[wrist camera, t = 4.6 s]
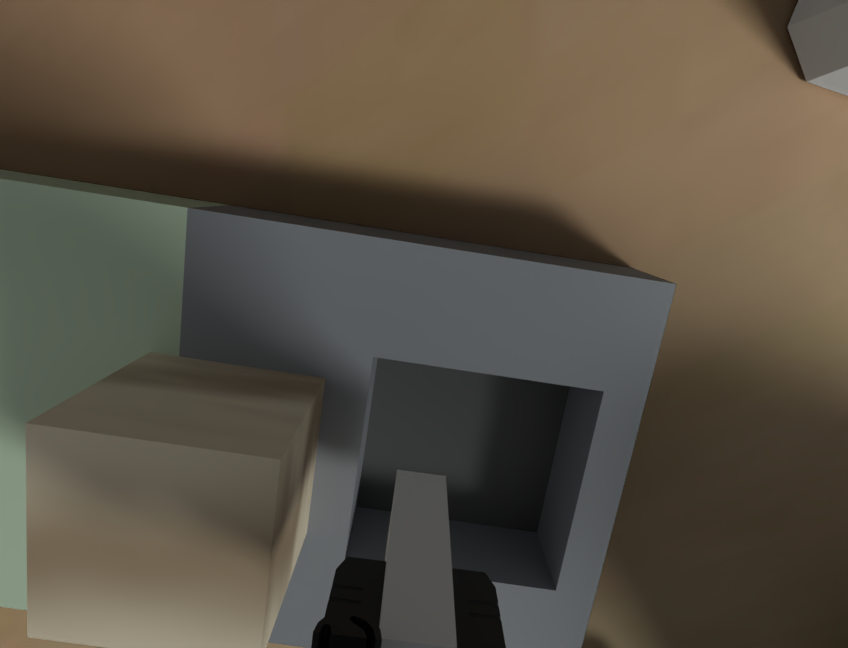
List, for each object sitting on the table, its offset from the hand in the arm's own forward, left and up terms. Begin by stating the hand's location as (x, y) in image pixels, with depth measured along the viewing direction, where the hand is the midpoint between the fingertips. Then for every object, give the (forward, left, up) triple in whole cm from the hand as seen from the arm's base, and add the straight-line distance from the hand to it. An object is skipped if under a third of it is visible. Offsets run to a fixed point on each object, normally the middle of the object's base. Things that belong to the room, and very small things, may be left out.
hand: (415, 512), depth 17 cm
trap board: (0, -11, -7) cm, 13 cm away
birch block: (0, -7, -3) cm, 7 cm away
